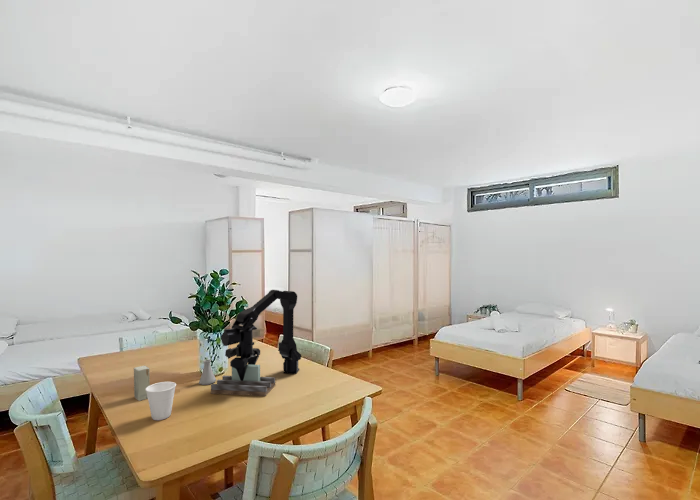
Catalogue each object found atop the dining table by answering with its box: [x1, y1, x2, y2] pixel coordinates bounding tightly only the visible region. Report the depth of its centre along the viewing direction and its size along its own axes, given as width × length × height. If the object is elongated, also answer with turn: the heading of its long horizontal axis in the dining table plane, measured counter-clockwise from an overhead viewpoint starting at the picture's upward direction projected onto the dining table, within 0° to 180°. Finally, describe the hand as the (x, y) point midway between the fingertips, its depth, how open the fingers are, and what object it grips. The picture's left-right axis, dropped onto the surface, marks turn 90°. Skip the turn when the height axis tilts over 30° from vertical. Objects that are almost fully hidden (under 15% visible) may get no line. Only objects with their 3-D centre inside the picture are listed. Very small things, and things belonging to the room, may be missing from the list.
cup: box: [145, 381, 177, 421], centre depth 132 cm, size 10×10×11 cm
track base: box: [210, 375, 276, 397], centre depth 157 cm, size 24×12×4 cm, turn 83°
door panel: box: [231, 363, 261, 381], centre depth 160 cm, size 12×2×8 cm, turn 83°
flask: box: [198, 359, 217, 386], centre depth 166 cm, size 7×7×10 cm
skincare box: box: [133, 365, 151, 402], centre depth 149 cm, size 6×4×12 cm
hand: (246, 376), depth 160 cm, fingers open, 9 cm apart
